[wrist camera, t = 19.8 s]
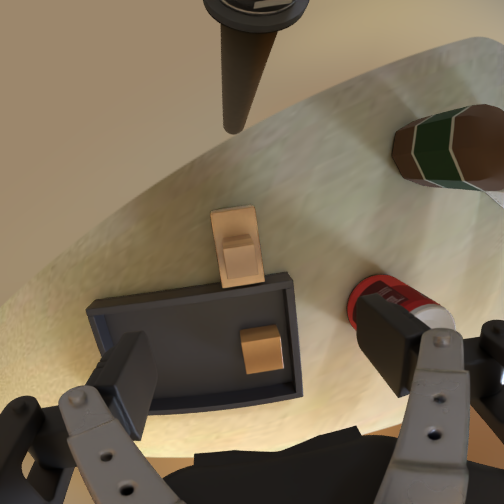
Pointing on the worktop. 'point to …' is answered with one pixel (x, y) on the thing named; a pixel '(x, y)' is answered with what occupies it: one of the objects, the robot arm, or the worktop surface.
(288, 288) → the tray
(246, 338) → the orange brown wooden block
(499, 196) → the small box
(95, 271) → the worktop surface
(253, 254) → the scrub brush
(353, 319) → the canned food
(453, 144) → the beer bottle
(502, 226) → the worktop surface
